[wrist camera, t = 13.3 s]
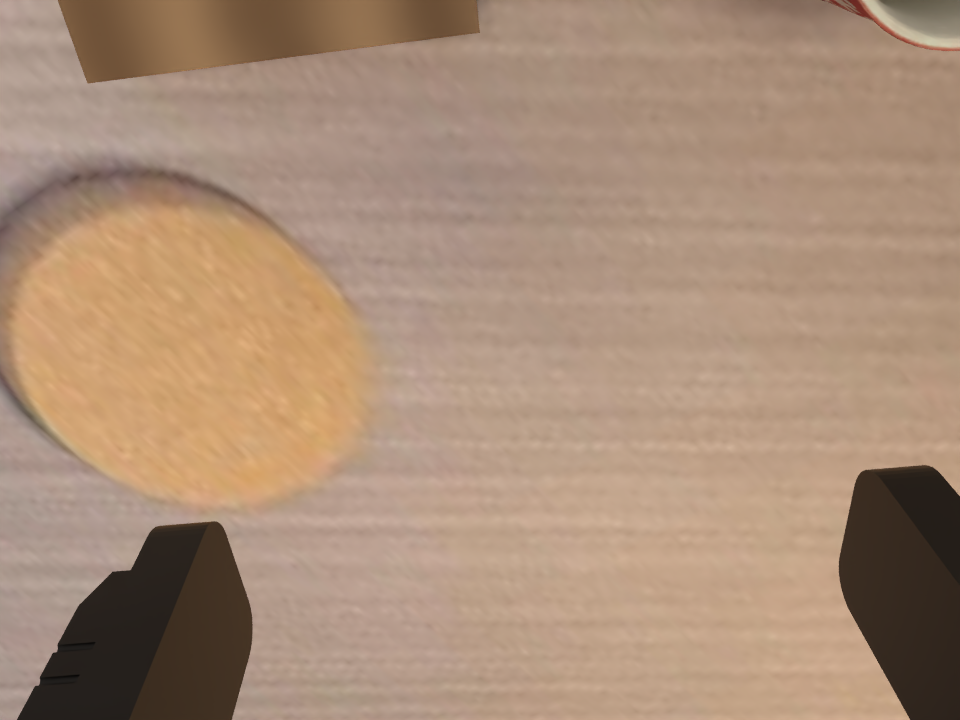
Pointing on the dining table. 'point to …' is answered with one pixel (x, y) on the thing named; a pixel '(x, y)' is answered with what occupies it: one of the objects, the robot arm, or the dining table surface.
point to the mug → (913, 20)
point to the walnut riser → (245, 30)
